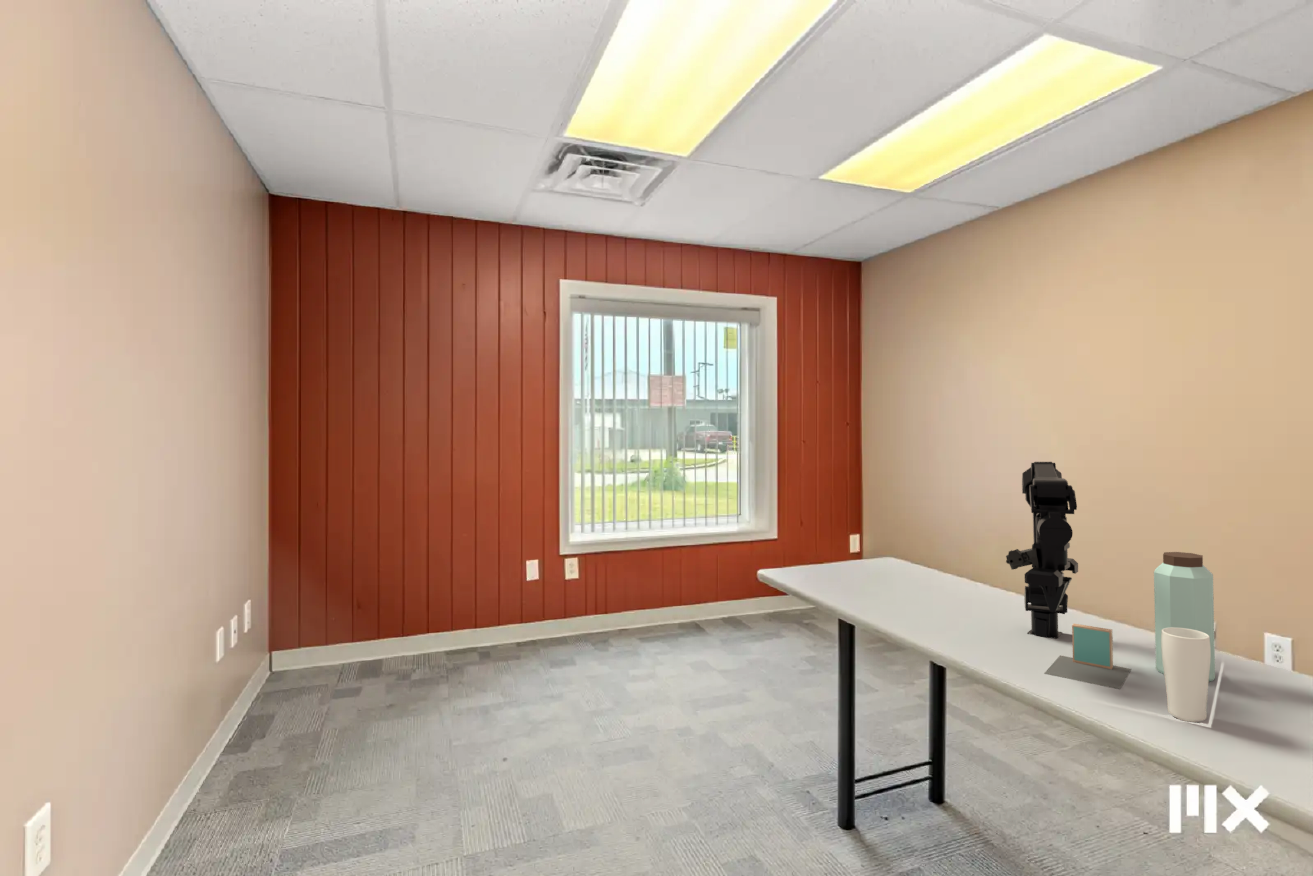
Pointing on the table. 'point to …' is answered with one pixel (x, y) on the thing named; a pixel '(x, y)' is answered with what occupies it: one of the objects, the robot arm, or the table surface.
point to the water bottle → (1183, 599)
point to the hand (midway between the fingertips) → (1053, 611)
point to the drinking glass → (1186, 672)
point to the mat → (1088, 672)
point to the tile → (1092, 645)
